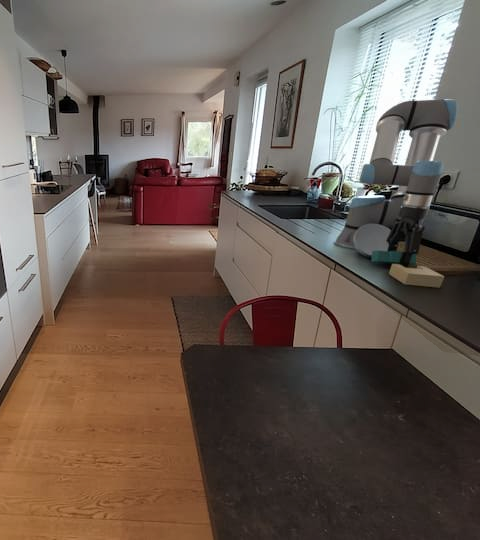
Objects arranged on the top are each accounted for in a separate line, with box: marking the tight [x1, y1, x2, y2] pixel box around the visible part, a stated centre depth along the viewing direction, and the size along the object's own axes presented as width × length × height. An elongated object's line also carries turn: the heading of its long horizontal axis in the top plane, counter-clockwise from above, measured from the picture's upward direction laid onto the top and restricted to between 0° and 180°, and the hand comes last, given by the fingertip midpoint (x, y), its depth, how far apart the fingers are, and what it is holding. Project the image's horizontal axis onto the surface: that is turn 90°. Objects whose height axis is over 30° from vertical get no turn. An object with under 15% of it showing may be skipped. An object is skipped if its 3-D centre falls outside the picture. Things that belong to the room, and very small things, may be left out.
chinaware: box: [353, 224, 397, 259], centre depth 136 cm, size 15×15×8 cm
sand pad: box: [388, 263, 445, 289], centre depth 110 cm, size 10×10×4 cm
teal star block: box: [370, 250, 418, 265], centre depth 123 cm, size 11×8×4 cm
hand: (394, 265), depth 124 cm, fingers closed on teal star block, 9 cm apart
